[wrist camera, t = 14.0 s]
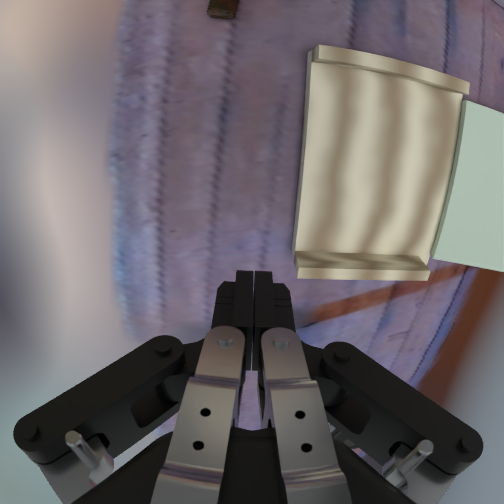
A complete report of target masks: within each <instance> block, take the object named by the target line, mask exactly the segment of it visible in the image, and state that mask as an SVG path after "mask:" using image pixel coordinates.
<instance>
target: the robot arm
mask: <svg viewBox="0 0 504 504" xmlns="http://www.w3.org/2000/svg"><path fill="white" fill-rule="evenodd" d="M252 335H253V344H252ZM251 353H252V370H253V371H258V382H257V392H258V402H259V412H260V422H261V429H260V430H254V431H250V430H246V429H242V428H238V422H239V415H240V408H241V400H242V393H243V384H244V382H245V375H246V370H251ZM178 411H179V413H178V417H177V421H176V424H175V428H174V431H172V432H169V433H167V434H165V435H163V436H161V437H159V438H158V439H156V440H155V441H153V442H152V443H151V444H150V445H149V446H147V447H146V448H145V449H144V450H142V451H141V452H140V453H139V454H137V455H136V456H135V457H133V458H132V459H131V460H130V461H128V462H127V463H126V464H124V465H123V466H122V467H120V468H119V469H118V470H116V471H115V472H114V473H112V471H113V468H114V460H113V459H114V458H115V457H117V456H118V455H120V454H121V453H123V452H124V451H125V450H127V449H128V448H130V447H131V446H132V445H134V444H135V443H137V442H138V441H139V440H141V439H142V438H143V437H145V436H146V435H148V434H149V433H150V432H152V431H153V430H154V429H156V428H157V427H158V426H160V425H161V424H162V423H164V422H165V421H166V420H168V419H169V418H170V417H172V416H173V415H174V414H176V413H177V412H178ZM328 422H329V423H330V424H331V425H332V426H333V427H335V428H336V429H337V430H338V431H339V432H341V433H342V434H343V435H344V436H345V437H347V438H348V439H349V440H350V441H352V442H353V443H354V444H355V445H356V446H358V447H359V448H360V449H361V450H363V451H364V452H365V453H366V454H368V455H369V456H370V457H371V458H373V459H374V460H375V461H377V462H378V463H379V464H380V465H382V466H383V476H382V475H380V474H379V473H378V472H377V471H376V470H375V469H373V468H372V467H371V466H370V465H369V464H367V463H366V462H365V461H364V460H363V459H362V458H361V457H359V456H358V455H357V454H356V453H355V452H354V451H352V450H351V449H350V448H349V447H348V446H347V445H346V444H344V443H343V442H341V441H340V440H338V439H336V438H334V437H332V436H331V432H330V428H329V424H328ZM13 432H14V433H13V436H14V440H15V442H16V444H17V445H18V446H19V448H21V450H23V451H24V452H25V453H26V454H27V455H28V457H29V458H30V459H31V460H32V461H33V462H34V463H35V464H36V465H37V466H38V467H40V469H41V471H42V472H43V474H44V476H45V477H46V479H47V481H48V482H49V484H50V485H51V487H52V488H53V490H54V491H55V493H56V494H57V495H58V497H59V498H60V500H61V502H62V503H63V504H438V502H439V501H440V500H441V498H442V497H443V495H444V494H445V492H446V491H447V489H448V488H449V486H450V485H451V483H452V482H453V480H454V479H455V477H456V476H457V475H459V474H460V473H461V472H462V471H464V470H465V469H466V468H467V467H469V466H470V465H471V464H472V463H473V462H475V461H476V460H477V459H478V458H479V457H480V456H481V454H482V451H483V441H482V438H481V436H480V435H479V433H478V432H477V431H475V430H474V429H473V428H471V427H470V426H468V425H467V424H465V423H464V422H462V421H461V420H459V419H458V418H456V417H455V416H453V415H452V414H451V413H449V412H448V411H446V410H445V409H443V408H442V407H440V406H439V405H437V404H436V403H435V402H433V401H432V400H430V399H429V398H427V397H426V396H424V395H423V394H421V393H420V392H419V391H417V390H416V389H414V388H413V387H411V386H410V385H409V384H407V383H406V382H404V381H403V380H401V379H400V378H399V377H397V376H396V375H394V374H393V373H391V372H390V371H389V370H387V369H386V368H384V367H383V366H381V365H380V364H379V363H377V362H376V361H374V360H373V359H371V358H370V357H369V356H367V355H366V354H364V353H363V352H362V351H360V350H359V349H357V348H356V347H355V346H353V345H351V344H349V343H346V342H332V343H330V344H328V345H327V346H326V347H325V348H324V349H321V348H317V347H313V346H310V345H308V344H306V343H304V342H303V341H301V340H300V337H299V336H298V335H297V334H296V331H295V324H294V317H293V310H292V303H291V296H290V291H289V289H288V288H287V287H286V286H285V284H284V283H273V279H272V272H270V271H255V277H254V296H253V271H242V270H237V272H236V282H227V281H224V282H223V283H222V284H221V285H220V286H219V287H218V290H217V296H216V302H215V308H214V314H213V320H212V326H211V330H210V331H209V332H208V333H207V334H206V336H205V338H204V339H202V340H200V341H198V342H194V343H189V344H182V343H181V341H180V340H179V339H177V338H175V337H173V336H168V335H162V336H157V337H154V338H152V339H150V340H149V341H147V342H146V343H144V344H142V345H141V346H139V347H138V348H136V349H134V350H133V351H132V352H130V353H128V354H126V355H125V356H123V357H121V358H120V359H119V360H117V361H115V362H113V363H112V364H110V365H109V366H107V367H105V368H104V369H102V370H100V371H99V372H97V373H96V374H94V375H92V376H91V377H89V378H87V379H86V380H84V381H82V382H81V383H79V384H77V385H76V386H74V387H73V388H71V389H69V390H67V391H66V392H64V393H62V394H61V395H59V396H57V397H56V398H54V399H53V400H51V401H49V402H48V403H46V404H44V405H42V406H41V407H39V408H38V409H36V410H34V411H32V412H31V413H29V414H27V415H26V416H24V417H22V418H21V419H20V420H19V421H18V422H17V423H16V425H15V428H14V431H13ZM111 473H112V474H111ZM110 474H111V475H110Z"/></svg>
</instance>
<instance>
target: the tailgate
mask: <svg viewBox="0 0 504 504" xmlns="http://www.w3.org/2000/svg"><path fill="white" fill-rule="evenodd" d="M431 255H432V257H433V259H438V260H443V261H449V262H454V263H460V264H465V265H470V266H476V267H481V268H487V269H491V270H497V271H502V272H504V114H503V113H501V112H498V111H496V110H493V109H490V108H488V107H485V106H482V105H479V104H476V103H473V102H470V101H467V100H462V109H461V118H460V126H459V133H458V139H457V146H456V152H455V157H454V163H453V168H452V173H451V178H450V183H449V187H448V192H447V196H446V200H445V204H444V209H443V212H442V216H441V220H440V224H439V228H438V231H437V235H436V238H435V242H434V245H433V248H432V252H431Z"/></svg>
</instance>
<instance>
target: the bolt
mask: <svg viewBox="0 0 504 504" xmlns="http://www.w3.org/2000/svg"><path fill="white" fill-rule="evenodd" d="M238 2H239V1H238V0H210V3H209V6H208V7H209V8H208V10H207V12H208V15H210V16H211V17H214V18H222V19H232V18H234V17H235V16H234V15H235V12H236V11H235V10H237V9H236V8H237V5H238Z"/></svg>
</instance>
